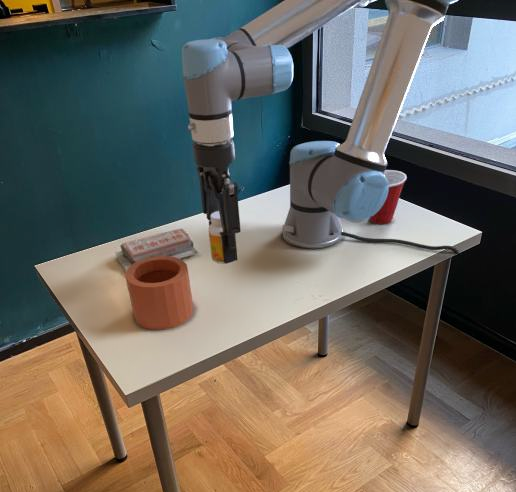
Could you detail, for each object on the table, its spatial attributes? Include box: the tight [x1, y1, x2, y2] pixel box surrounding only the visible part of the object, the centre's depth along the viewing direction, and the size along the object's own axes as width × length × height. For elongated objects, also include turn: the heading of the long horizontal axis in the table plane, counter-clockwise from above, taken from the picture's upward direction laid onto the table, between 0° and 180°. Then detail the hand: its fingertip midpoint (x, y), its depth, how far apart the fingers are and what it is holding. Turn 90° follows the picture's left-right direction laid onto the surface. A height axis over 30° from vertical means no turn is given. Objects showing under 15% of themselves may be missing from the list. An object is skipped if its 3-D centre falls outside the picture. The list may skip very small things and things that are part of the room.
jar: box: [124, 256, 194, 331], centre depth 104 cm, size 12×12×10 cm
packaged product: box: [114, 228, 199, 272], centre depth 125 cm, size 18×5×10 cm
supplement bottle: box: [208, 211, 238, 265], centre depth 104 cm, size 5×5×10 cm
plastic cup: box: [369, 169, 408, 225], centre depth 135 cm, size 11×11×12 cm
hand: (224, 254), depth 107 cm, fingers closed on supplement bottle, 5 cm apart
